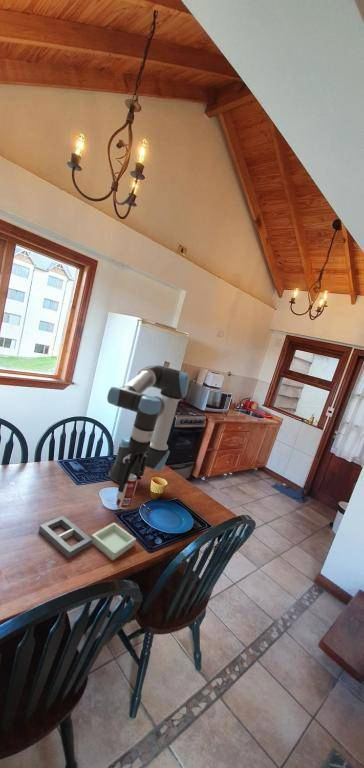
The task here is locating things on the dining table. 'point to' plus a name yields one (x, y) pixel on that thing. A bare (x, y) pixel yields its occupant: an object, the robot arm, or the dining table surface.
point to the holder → (65, 536)
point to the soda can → (128, 493)
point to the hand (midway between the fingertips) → (125, 496)
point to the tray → (113, 540)
